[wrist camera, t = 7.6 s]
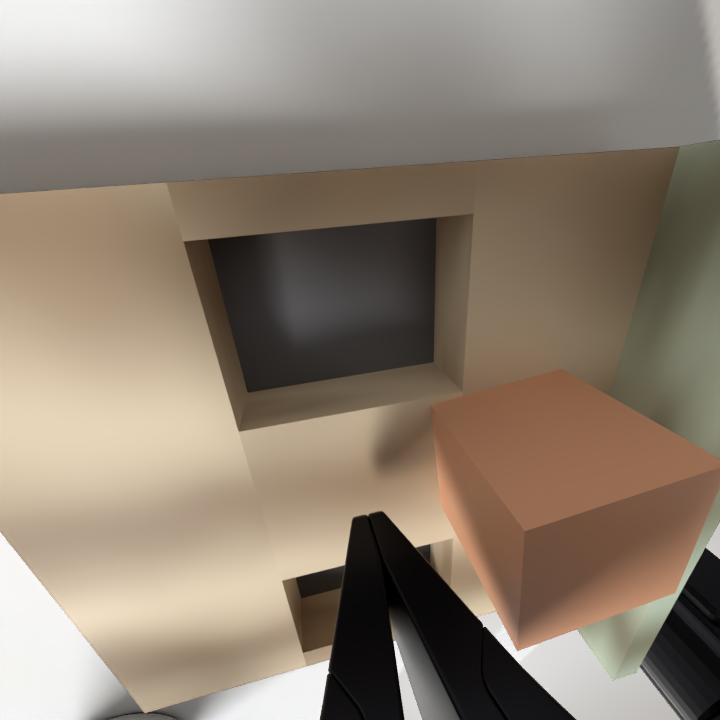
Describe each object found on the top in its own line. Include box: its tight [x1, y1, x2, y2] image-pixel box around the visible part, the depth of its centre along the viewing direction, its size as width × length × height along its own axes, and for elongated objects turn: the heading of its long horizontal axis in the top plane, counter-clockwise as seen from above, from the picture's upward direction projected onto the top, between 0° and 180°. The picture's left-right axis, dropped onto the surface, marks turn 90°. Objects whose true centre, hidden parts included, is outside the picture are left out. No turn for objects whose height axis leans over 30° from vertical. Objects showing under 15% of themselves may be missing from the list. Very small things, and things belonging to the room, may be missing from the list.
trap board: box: [0, 140, 720, 713], centre depth 10 cm, size 17×18×5 cm
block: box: [431, 369, 720, 651], centre depth 8 cm, size 4×4×4 cm
